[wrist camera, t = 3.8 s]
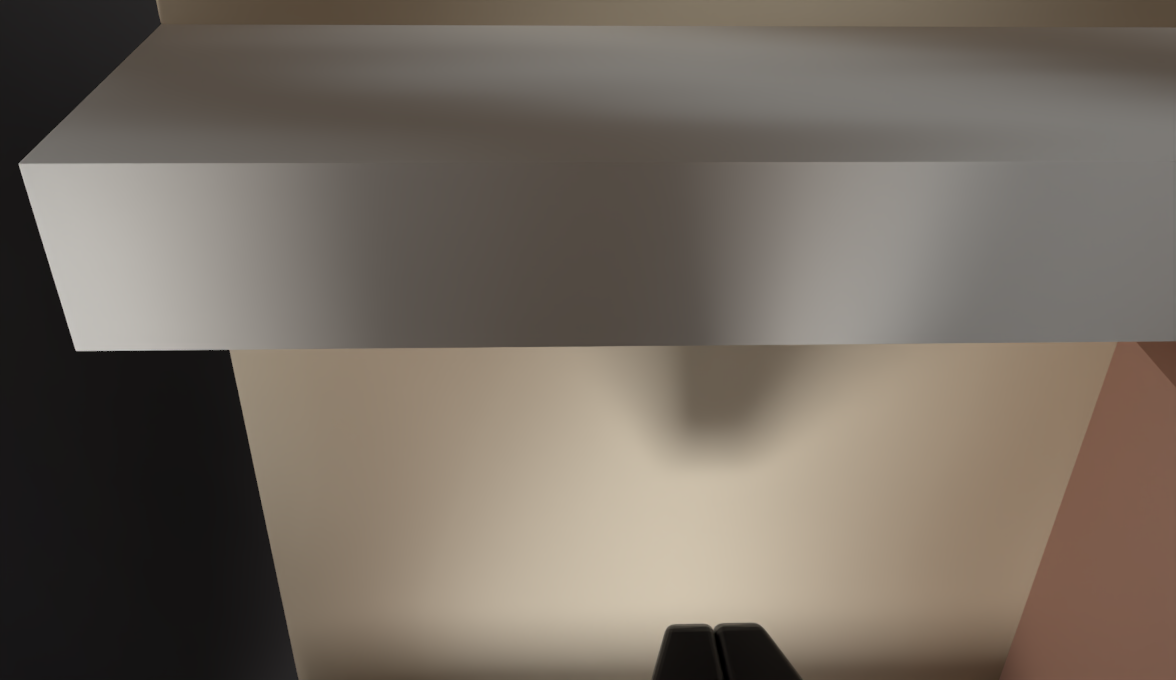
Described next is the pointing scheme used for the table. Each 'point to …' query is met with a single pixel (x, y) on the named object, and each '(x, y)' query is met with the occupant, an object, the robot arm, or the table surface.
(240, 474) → the table surface
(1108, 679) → the block
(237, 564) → the table surface
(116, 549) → the table surface
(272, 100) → the lane board
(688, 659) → the robot arm
